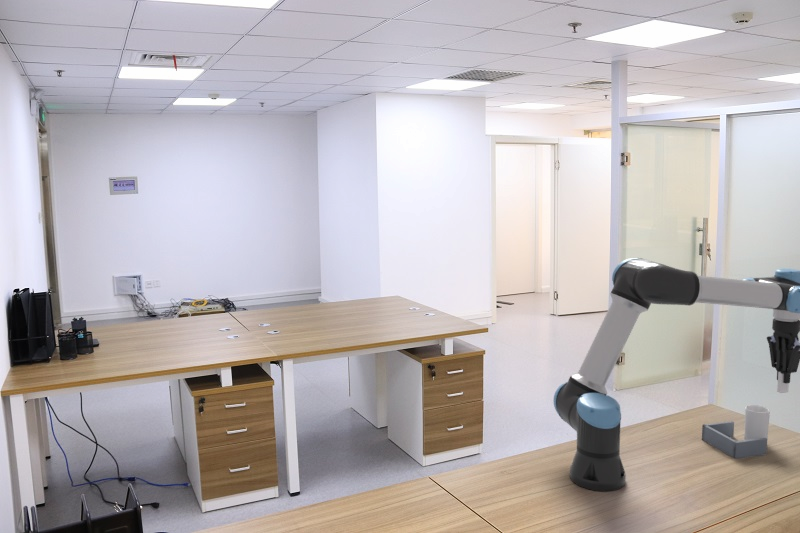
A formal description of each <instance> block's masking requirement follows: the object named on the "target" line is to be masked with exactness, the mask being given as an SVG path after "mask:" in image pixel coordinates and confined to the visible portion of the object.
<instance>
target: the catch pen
mask: <svg viewBox="0 0 800 533" xmlns="http://www.w3.org/2000/svg"><path fill="white" fill-rule="evenodd" d="M701 429H702V430H701V440H702V441H704V442H705V443H707V444H709V445H710V446H712V447H714V448H716V449H717V450H719V451H721V452H723V453H725V454H726V455H728V456H729V457H732V459H736V460H737V459H743V458H750V457H751V458H752V457H758V456H765V455H767V451H768V450H767V449H768V448H767V447H768V440H767V438H757V439H750V440H744V439H743V440H735V439H733V437H734V436H735V435H734V434H735V433H734V432H735V422H734V421H733V420H729V421H722V422H712V423H704V424H702V428H701Z"/></svg>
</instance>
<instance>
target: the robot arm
mask: <svg viewBox="0 0 800 533" xmlns="http://www.w3.org/2000/svg"><path fill="white" fill-rule="evenodd" d="M611 277H612V278H611V279H612V280H611V281H612V285H613V287H612V289H611V292H610V294H609V295H610V297H611V300H612V301H611V303H610V306H609V308H608V309H607V312H606V314H605V317H604V318H603V319H602V322H601V325H600V326H599V329H598V330H597V332H596V334H595V337H594V339H593V340H592V343H591V344H590V346H589V350H588V351H587V353H586V356H585V357H584V359H583V362H582V364H581V366H580V367H579V370H578V372H576V373H572V374H570V376H569V378H568V380H567V381H565V383H562V384H560V385H559V386H558V388H557V389H556V391H555V393H554V395H553V407H554V410H555V412H556V413H557V414H558V416H559V417H560V419H561V420H563V421H564V422H565V423H566V424H567V425H569V426H570V427H571V428H572V430H574V431H575V432H576V452H575V454H574V457H573V460H572V463H571V465H570V468H569V478H570V480H571V481H572V482H573V483H574V482H575V483H576V484H575V483H574V484H575V485H577V486H579V487H580V488H583V489H588V490H591V491H596V492H597V491H599V492H611V491H617V490H619V489H621V488H623V487H624V486H625V484H626V471H625V468H624V465H623V462H622V458H621V456H620V452H621V451H620V449H621V444H620V443H621V422H622V413H621V412H622V411H621V405H620V404H619V402H618V400H616V399H615V398H613V397H612V396H610V395H607V394H608V391H607V388H606V385H607V382H608V381H609V379H610V377H611V374H612V373H613V370H614V368H615V366H616V364H617V362H618V360H619V358H620V356H621V354H622V352H623V349H624V348H625V345H626V344H627V342H628V339H629V338H630V335H631V333H632V331H633V329H634V327H635V325H636V323H637V321H638V319H639V316H640V314H642V313H644V312H647V311H649V309H650V306H651V304H653V305H669V306H670V305H673V306H676V305H677V306H693V305H694V304H707V305H708V304H709V305H710V304H711V305H722V306H731V307H732V306H735V307H743V308H744V307H745V308H756V309H766V310H772V317H773V318H772V324H771V325H772V327H771V329H772V330H773V333H772V335H769V336H767V337H766V340H767V343H768V350H769V355H770V363H771V368H774V369H775V370H776V380H777V388H776V389H777V390H776V392H777V393H779V394H786V393H789V384H790V382H791V374H793V373H797V371H798V367H799V364H800V341H799V340H800V338H799V336H798V335H799V333H800V270H799V269H795V268H779V269H778V268H777V269H776V270H775V272H774V276H770V277H769V276H768V277H749V278H743V279H737V278H736V279H734V278H725V277H713V276H704V275H698V274H697V273H696V272H695V271H692V270H691V271H690V270H683V269H679V268H676V267H672V266H670V265H667V264H663V263H659V262H655V261H652V260H649V259H645V258H641V257H640V258H639V257H636V258H635V257H630V258H627V259H624V260H622V261H621V262H619V264H617V265H616V267H615V268H614V269H613V272H612V276H611Z"/></svg>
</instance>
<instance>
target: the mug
mask: <svg viewBox="0 0 800 533" xmlns="http://www.w3.org/2000/svg"><path fill="white" fill-rule="evenodd" d="M744 408H745V409H744V434H743V436H744V439H743V440H750V439H757V438H767V441H768V439H769V427H770V426H769V425H770V416H771V415H770V412H771V411H770V409H769V408H768V407H765V406H763V405H758V404H757V405H756V404H749V405H746V406H745V407H744Z"/></svg>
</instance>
